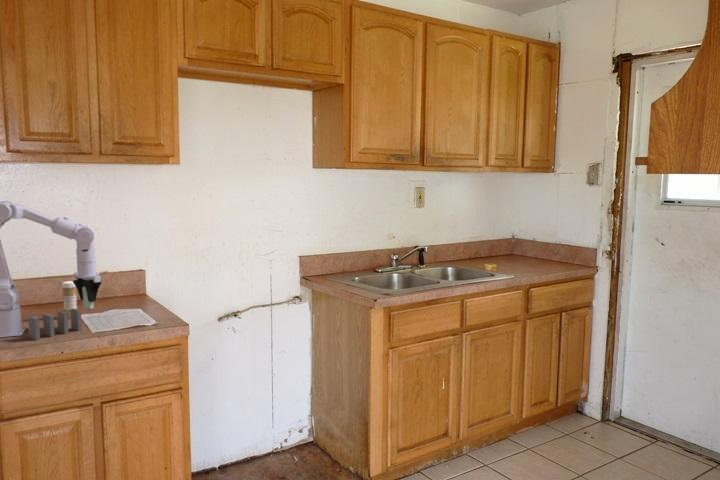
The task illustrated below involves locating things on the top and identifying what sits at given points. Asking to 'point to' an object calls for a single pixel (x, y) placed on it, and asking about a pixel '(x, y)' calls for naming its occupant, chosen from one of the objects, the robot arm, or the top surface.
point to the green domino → (86, 299)
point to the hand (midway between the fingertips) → (88, 300)
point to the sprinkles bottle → (69, 297)
